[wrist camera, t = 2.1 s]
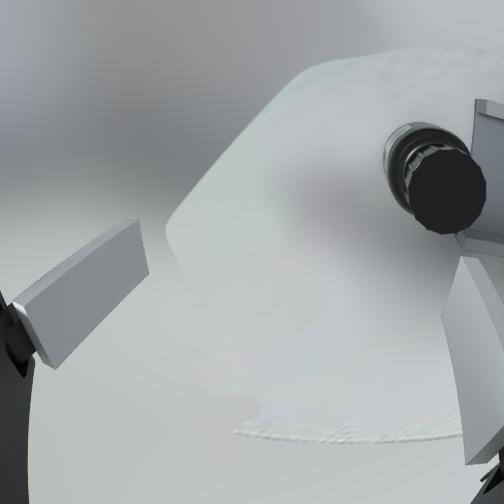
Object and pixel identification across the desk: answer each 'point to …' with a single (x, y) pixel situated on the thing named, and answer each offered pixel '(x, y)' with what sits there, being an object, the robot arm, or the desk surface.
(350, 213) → the desk surface
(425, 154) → the ink bottle
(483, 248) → the tray
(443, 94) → the desk surface
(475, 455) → the robot arm
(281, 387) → the desk surface
